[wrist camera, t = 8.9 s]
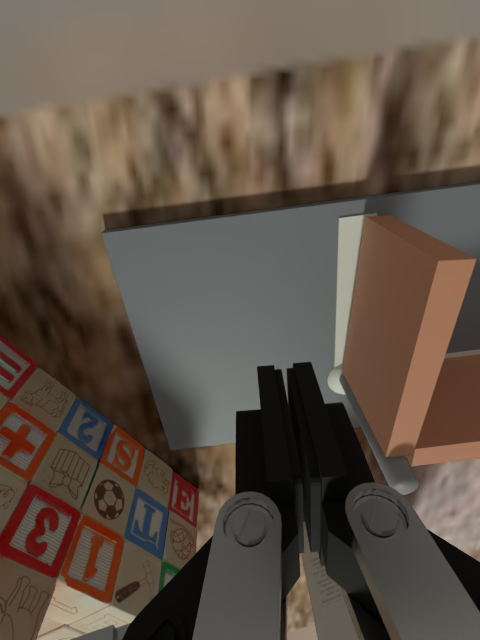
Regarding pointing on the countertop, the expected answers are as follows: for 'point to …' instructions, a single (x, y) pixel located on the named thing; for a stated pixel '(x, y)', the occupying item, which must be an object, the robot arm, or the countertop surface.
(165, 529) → the stack of blocks
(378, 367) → the hinged fence panel
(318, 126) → the countertop surface
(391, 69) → the countertop surface
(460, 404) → the fixed fence panel
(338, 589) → the small box
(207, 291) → the board
